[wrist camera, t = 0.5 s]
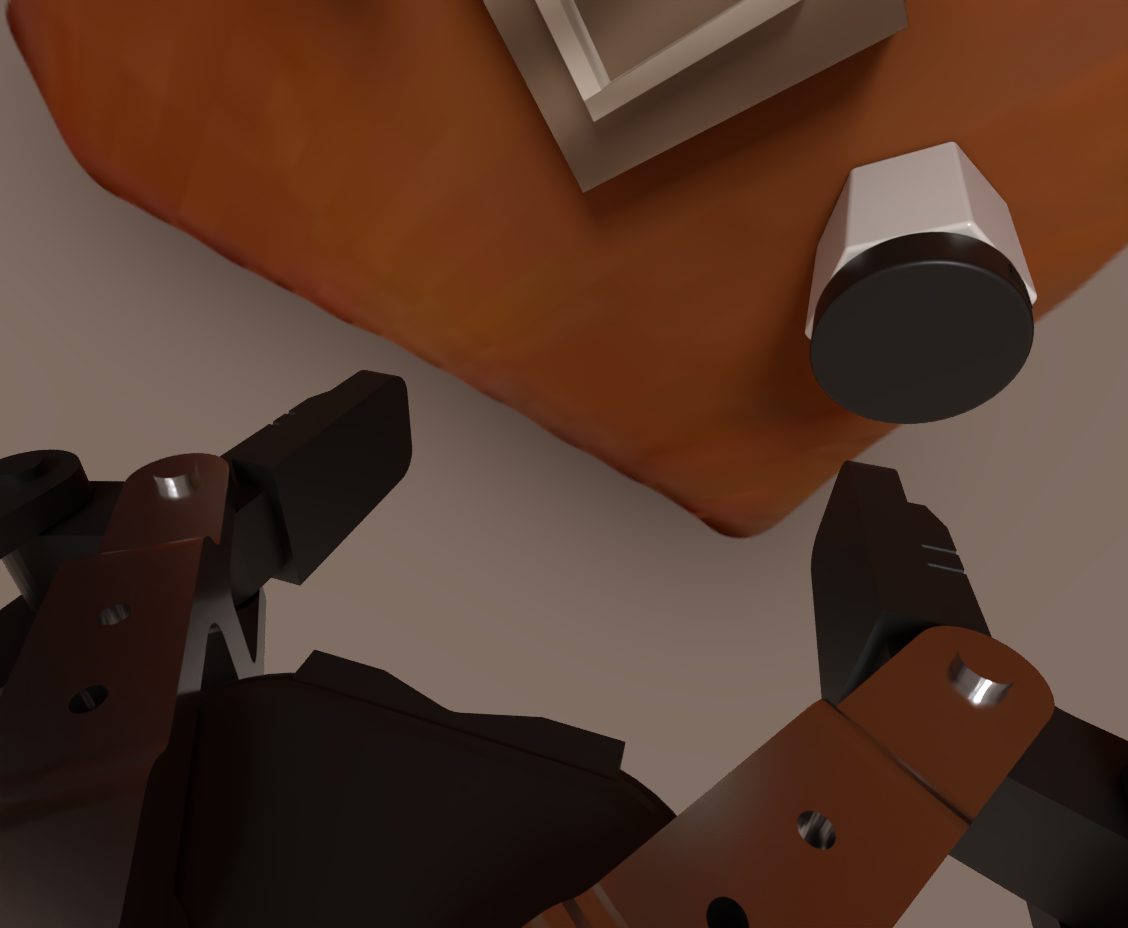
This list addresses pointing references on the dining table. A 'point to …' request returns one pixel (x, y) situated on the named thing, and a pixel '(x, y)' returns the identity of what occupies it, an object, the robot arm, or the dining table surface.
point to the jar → (919, 291)
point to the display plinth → (671, 65)
